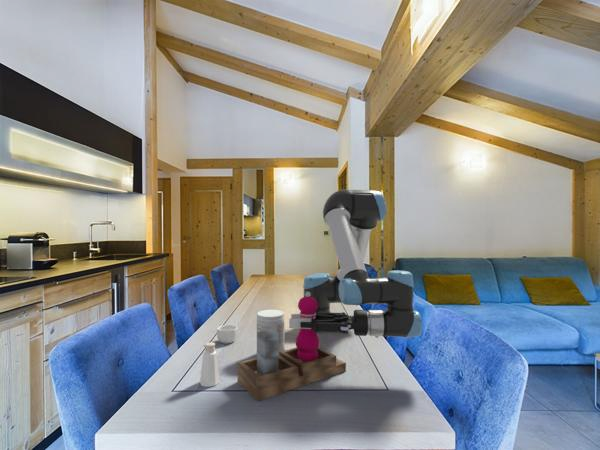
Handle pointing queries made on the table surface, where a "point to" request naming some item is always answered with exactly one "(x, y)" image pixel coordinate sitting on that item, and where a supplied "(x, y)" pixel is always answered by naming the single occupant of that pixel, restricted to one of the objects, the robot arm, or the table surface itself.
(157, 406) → the table surface
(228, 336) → the teacup
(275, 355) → the wooden condiment caddy
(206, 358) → the pepper shaker
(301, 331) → the pepper mill
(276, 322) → the supplement tub
